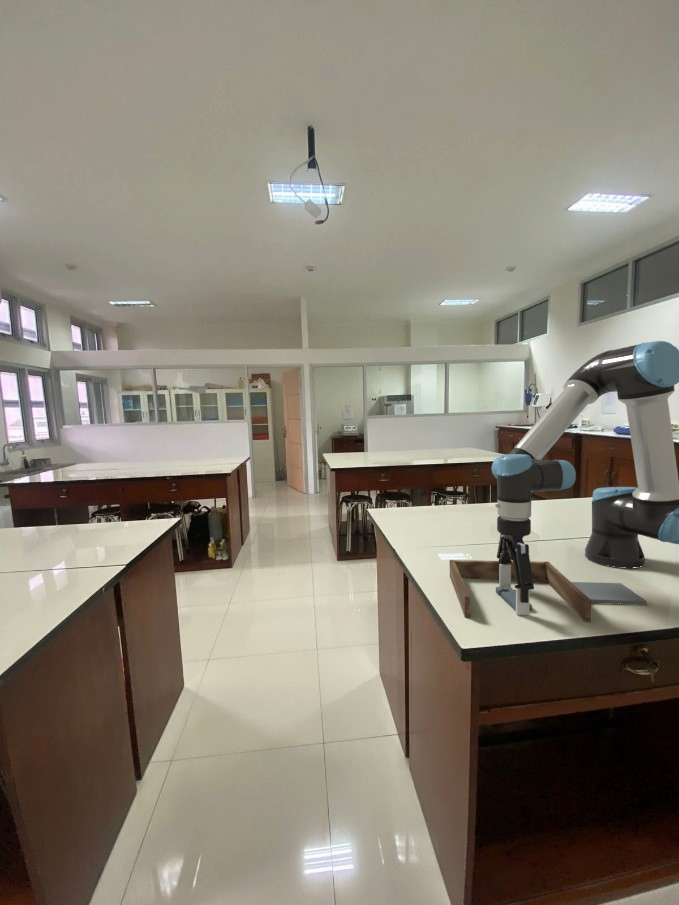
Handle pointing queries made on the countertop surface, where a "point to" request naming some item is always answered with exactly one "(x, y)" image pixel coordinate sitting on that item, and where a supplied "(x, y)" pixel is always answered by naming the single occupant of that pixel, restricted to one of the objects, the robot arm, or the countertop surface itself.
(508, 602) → the bracket
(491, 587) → the countertop surface
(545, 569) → the u-shaped wooden frame
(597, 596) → the slate mat
